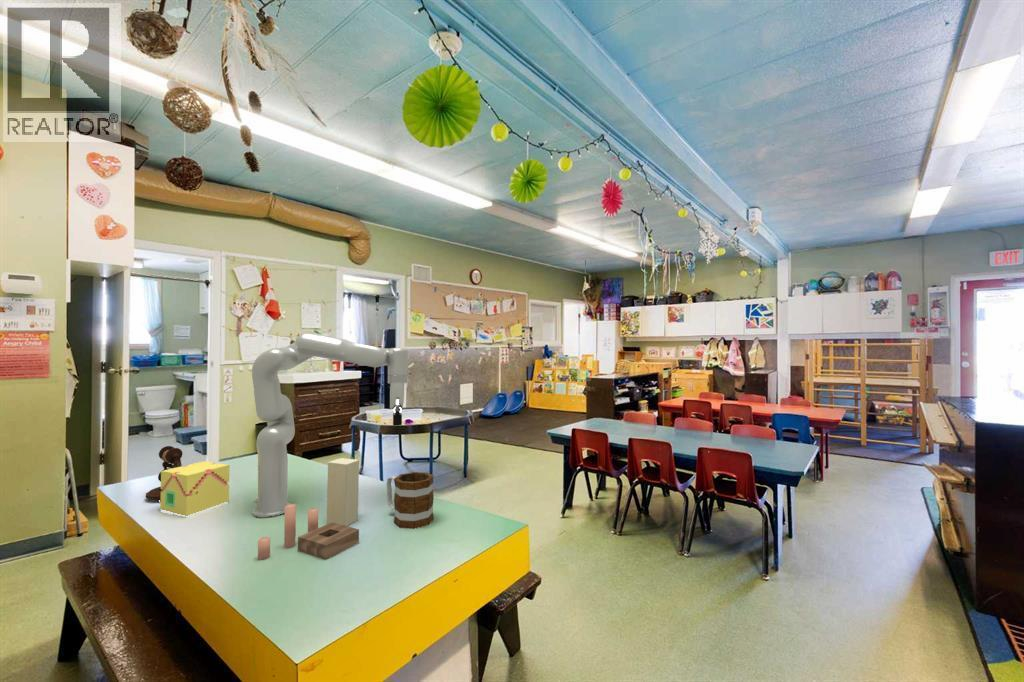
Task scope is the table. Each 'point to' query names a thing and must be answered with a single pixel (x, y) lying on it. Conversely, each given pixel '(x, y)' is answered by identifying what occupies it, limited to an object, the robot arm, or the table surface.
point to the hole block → (328, 540)
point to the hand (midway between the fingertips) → (397, 423)
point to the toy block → (194, 487)
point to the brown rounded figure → (168, 456)
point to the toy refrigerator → (342, 491)
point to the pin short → (263, 548)
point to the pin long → (290, 525)
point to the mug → (412, 499)
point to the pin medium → (312, 519)
